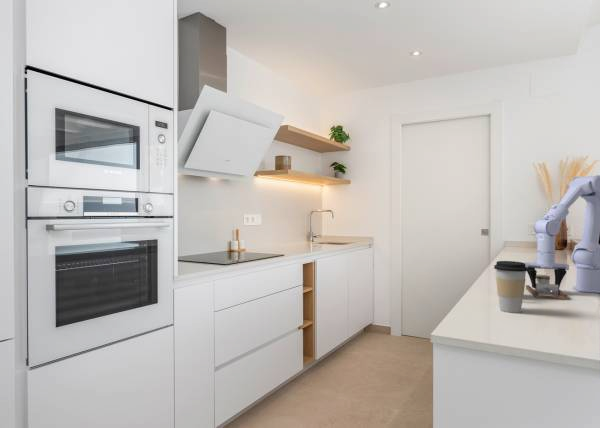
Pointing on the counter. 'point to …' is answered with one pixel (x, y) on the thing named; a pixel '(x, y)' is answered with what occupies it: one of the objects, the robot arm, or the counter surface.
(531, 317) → the counter surface
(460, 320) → the counter surface
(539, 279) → the jar
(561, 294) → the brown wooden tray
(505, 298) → the coffee cup
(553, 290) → the pusher plate
